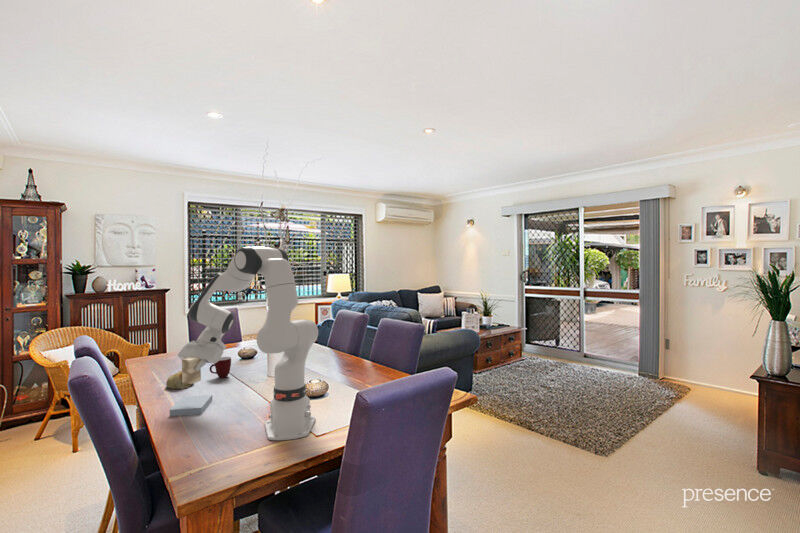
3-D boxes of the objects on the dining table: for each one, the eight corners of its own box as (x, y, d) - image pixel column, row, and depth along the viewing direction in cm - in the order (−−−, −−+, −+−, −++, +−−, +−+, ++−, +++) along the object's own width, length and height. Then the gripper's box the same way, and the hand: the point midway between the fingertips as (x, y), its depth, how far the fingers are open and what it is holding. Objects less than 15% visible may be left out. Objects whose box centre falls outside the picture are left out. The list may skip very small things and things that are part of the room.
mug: (210, 381, 208) (210, 362, 208) (209, 377, 215) (208, 358, 215) (232, 377, 214) (232, 359, 213) (230, 374, 221) (230, 356, 220)
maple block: (200, 380, 173) (200, 357, 172) (191, 384, 168) (190, 360, 168) (191, 379, 174) (191, 356, 174) (182, 382, 170) (181, 359, 169)
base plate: (201, 414, 164) (201, 407, 164) (169, 417, 162) (169, 409, 162) (212, 401, 180) (212, 394, 180) (183, 403, 178) (183, 396, 178)
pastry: (194, 388, 198) (193, 372, 198) (164, 392, 193) (164, 375, 192) (195, 380, 211) (195, 365, 210) (167, 383, 205) (167, 368, 205)
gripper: (185, 336, 181) (167, 363, 172) (221, 339, 174) (204, 367, 165) (194, 344, 185) (176, 371, 176) (229, 347, 178) (212, 375, 169)
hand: (190, 369), depth 170 cm, fingers closed on maple block, 5 cm apart
